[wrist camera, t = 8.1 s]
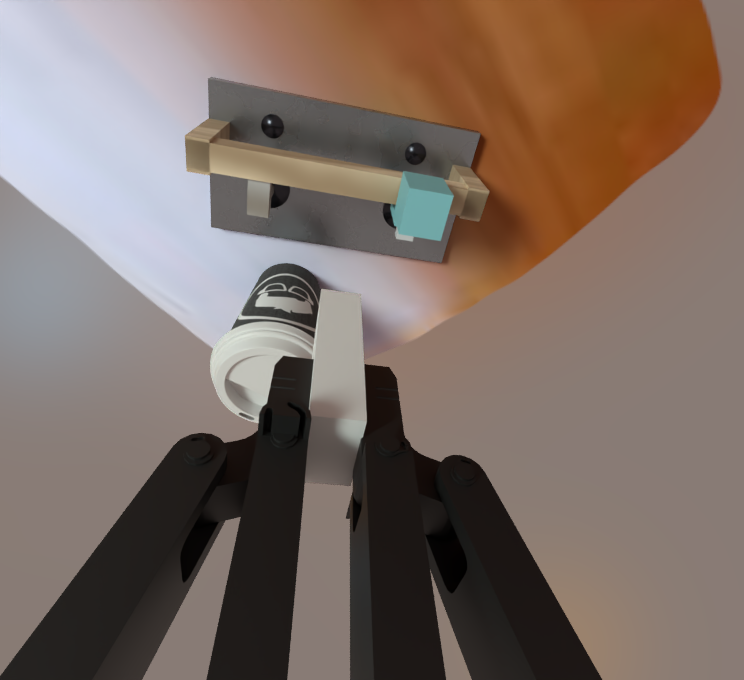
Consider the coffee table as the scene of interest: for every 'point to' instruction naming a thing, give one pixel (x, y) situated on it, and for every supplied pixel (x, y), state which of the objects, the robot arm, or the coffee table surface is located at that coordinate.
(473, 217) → the wooden rail
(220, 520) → the robot arm
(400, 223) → the slider block
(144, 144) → the coffee table surface
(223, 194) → the bolt plate
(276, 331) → the coffee cup
